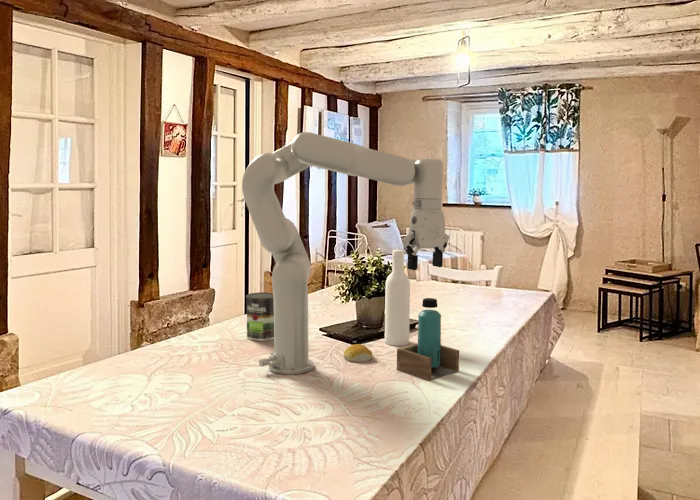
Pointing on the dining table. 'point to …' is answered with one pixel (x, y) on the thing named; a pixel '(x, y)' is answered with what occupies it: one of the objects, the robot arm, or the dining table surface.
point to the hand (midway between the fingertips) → (425, 268)
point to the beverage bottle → (430, 332)
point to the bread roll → (357, 353)
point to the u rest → (427, 362)
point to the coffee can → (260, 316)
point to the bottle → (397, 303)
